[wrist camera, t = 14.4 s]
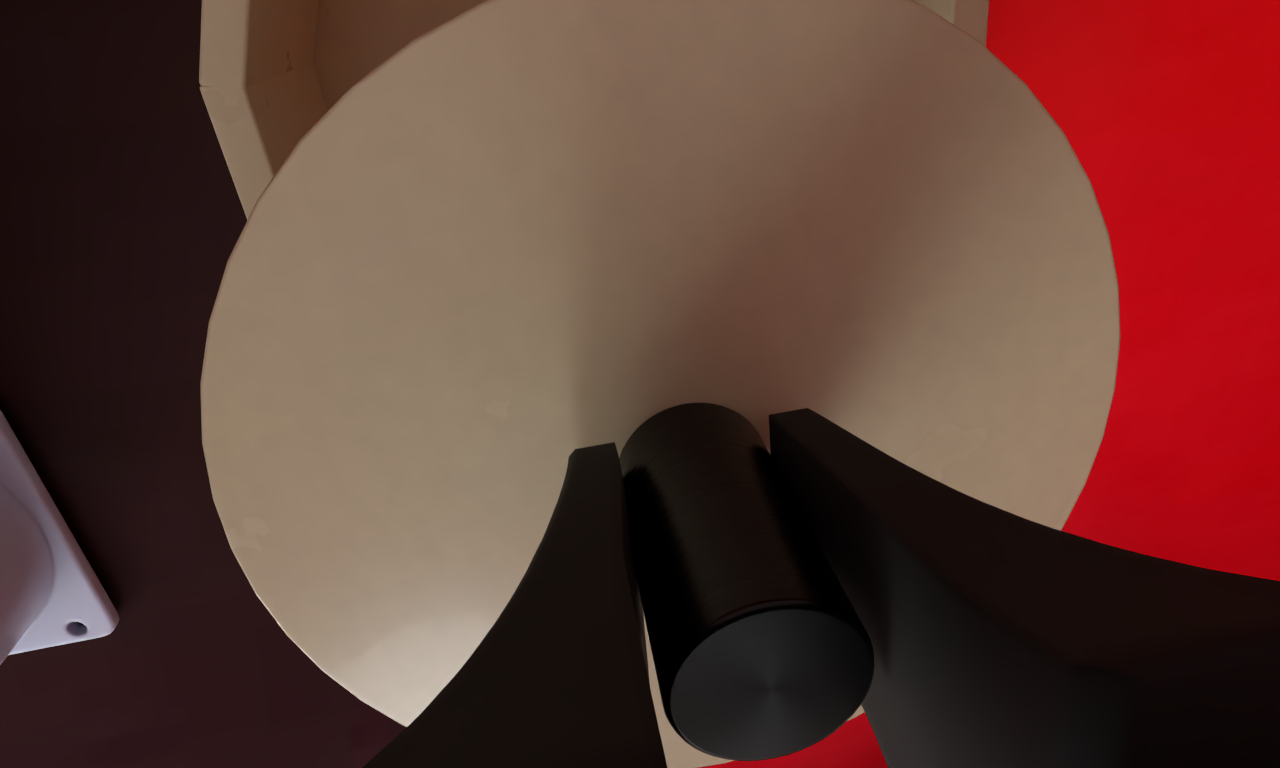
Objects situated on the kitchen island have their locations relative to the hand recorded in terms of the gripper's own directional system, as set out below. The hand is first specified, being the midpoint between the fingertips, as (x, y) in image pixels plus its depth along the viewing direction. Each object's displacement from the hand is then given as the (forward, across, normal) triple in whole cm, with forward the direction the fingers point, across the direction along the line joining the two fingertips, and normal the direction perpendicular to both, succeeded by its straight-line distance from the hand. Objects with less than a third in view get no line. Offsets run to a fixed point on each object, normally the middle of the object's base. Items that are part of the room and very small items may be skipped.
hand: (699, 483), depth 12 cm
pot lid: (+1, 0, 0) cm, 1 cm away
